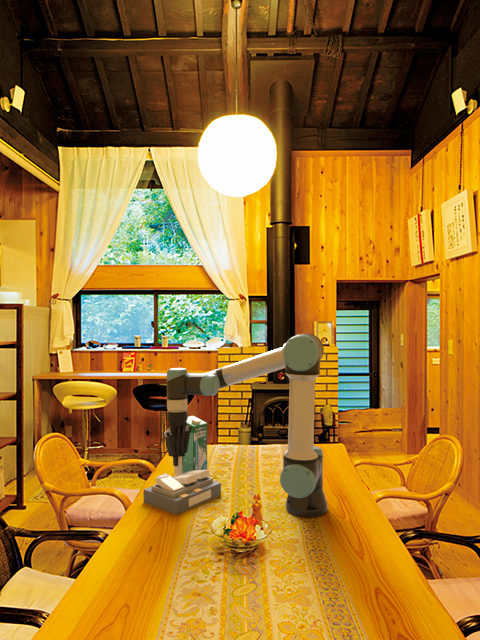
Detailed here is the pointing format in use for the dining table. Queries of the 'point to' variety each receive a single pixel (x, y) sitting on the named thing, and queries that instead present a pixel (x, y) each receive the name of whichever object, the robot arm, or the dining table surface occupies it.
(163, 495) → the switch unit
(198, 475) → the rocker
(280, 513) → the dining table surface
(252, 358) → the robot arm
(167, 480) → the rocker
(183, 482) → the rocker
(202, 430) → the milk carton
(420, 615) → the dining table surface
